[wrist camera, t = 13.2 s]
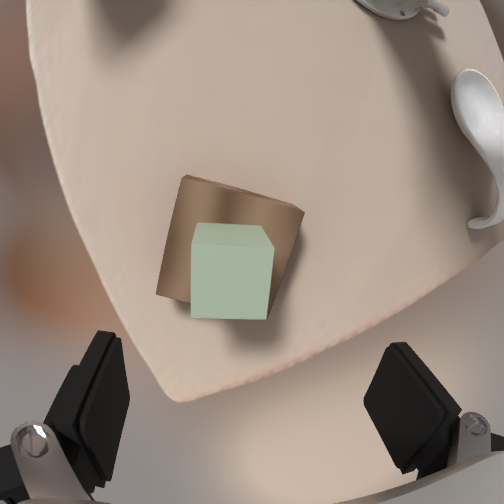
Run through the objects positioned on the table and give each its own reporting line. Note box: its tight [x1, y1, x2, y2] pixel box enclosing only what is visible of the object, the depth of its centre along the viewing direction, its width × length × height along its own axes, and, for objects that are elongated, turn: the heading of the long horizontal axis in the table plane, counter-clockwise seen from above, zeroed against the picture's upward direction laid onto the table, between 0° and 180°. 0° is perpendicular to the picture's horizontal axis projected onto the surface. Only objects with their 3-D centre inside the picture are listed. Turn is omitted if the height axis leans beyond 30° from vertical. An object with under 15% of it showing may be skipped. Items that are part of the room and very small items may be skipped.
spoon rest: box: [451, 69, 504, 229], centre depth 30 cm, size 24×12×7 cm, turn 13°
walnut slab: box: [156, 175, 305, 319], centre depth 32 cm, size 12×12×5 cm
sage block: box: [191, 222, 275, 319], centre depth 26 cm, size 6×6×7 cm
